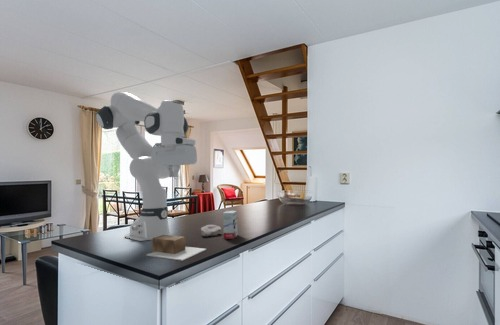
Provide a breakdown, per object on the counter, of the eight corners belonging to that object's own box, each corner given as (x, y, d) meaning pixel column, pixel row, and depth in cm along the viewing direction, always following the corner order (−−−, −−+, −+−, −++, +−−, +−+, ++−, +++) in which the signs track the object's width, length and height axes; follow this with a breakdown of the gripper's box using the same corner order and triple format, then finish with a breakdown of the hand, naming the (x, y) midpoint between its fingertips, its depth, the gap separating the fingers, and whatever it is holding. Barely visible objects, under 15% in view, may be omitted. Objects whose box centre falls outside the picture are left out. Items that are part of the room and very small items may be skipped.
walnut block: (174, 254, 101) (152, 251, 106) (185, 249, 106) (163, 247, 111) (174, 240, 101) (151, 238, 106) (185, 236, 106) (163, 234, 111)
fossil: (225, 228, 134) (209, 223, 127) (220, 241, 132) (205, 236, 125) (214, 224, 140) (199, 219, 133) (209, 237, 138) (194, 232, 132)
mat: (146, 255, 101) (146, 254, 101) (172, 246, 114) (172, 245, 114) (182, 260, 94) (182, 259, 94) (206, 249, 107) (206, 248, 107)
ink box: (233, 239, 122) (232, 212, 123) (223, 239, 123) (222, 212, 124) (238, 234, 131) (237, 210, 131) (228, 234, 132) (227, 210, 132)
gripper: (146, 142, 108) (147, 177, 107) (188, 138, 99) (189, 176, 98) (158, 144, 113) (159, 177, 113) (198, 140, 104) (199, 176, 104)
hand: (173, 177), depth 106 cm, fingers closed
